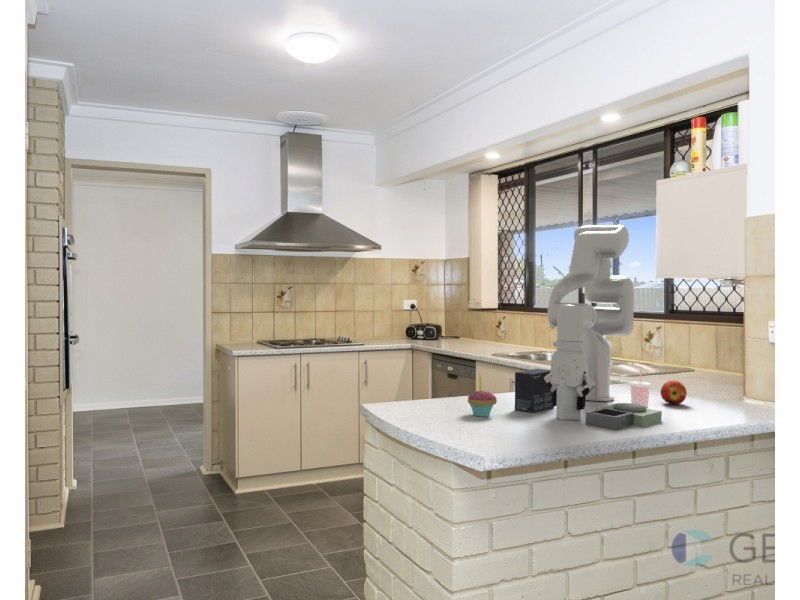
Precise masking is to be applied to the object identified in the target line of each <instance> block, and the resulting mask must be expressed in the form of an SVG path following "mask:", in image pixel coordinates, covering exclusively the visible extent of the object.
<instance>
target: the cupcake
mask: <svg viewBox="0 0 800 600" xmlns="http://www.w3.org/2000/svg"><path fill="white" fill-rule="evenodd" d="M478 382H479V383H478V387H479V388H478V389H479V390H477V391H474V392H472V393H470V394H469V395H468V396H467V403H468V404H469V406H470V407H471V412H472V415H473V416H475V417H481V418H482V417H489V416H490V414H491V412H492V409H493V407H494V405H496V404H497V403H498V401H497V400H498V399H497V397H496V395H494V394H493V393H492V392H490V391H485V390H483V389H482V388H483V387H482V386H483V385H482V375H481V374H480V373H479V375H478Z"/></svg>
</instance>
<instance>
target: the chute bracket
mask: <svg viewBox="0 0 800 600" xmlns="http://www.w3.org/2000/svg"><path fill="white" fill-rule="evenodd" d="M585 425H586V426H590V427H591V426H592V427H596V428H602V429H607V430H613V431H618V430H622V429H626V428H630V427H632V426H634V413H632V412H626V411H620V410H614V409H608V408H602V409H597V410H596V409H595V410H590V411H586V412H585Z"/></svg>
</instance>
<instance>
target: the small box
mask: <svg viewBox="0 0 800 600" xmlns="http://www.w3.org/2000/svg"><path fill="white" fill-rule="evenodd" d="M549 373H550V369H545V368H544V369H543V368H542V369H541V368H532V369H527V370H520V371H516V372H514V411H519V412H524V413H525V412H526V413H531V414H535V413H538V412H543V411H546V410H551V409H554V408H555V406H553V405H552V404H553V402H552V392H551V391H550V390H551V389H550V388H549V387H548V385H547V383H546V381H545V379H544V377H545V376H546V375H547V374H549Z"/></svg>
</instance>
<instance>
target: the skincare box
mask: <svg viewBox="0 0 800 600" xmlns="http://www.w3.org/2000/svg"><path fill="white" fill-rule="evenodd" d="M577 396H579V394H578V392H577V390H576V388H573V387H567V386H565V379H564V378H560V385H557V403H556V406H555V407H556V409H555V410H556V413H555V414H556V418H558V419H559V420H560V421H561V420H562V421H570V420H572V421H573V420H576V421H577V420H581V419H582V418H581V415H582V414H581V411H582V410H580V411H579V410H577Z"/></svg>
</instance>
